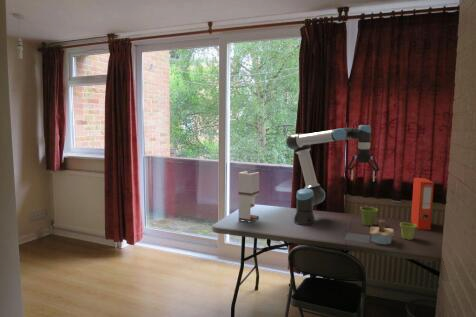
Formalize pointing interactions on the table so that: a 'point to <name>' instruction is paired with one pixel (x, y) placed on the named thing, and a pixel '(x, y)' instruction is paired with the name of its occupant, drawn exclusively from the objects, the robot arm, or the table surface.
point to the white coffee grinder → (247, 194)
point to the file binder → (422, 203)
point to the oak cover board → (387, 233)
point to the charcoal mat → (357, 237)
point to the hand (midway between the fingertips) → (362, 180)
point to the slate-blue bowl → (381, 239)
